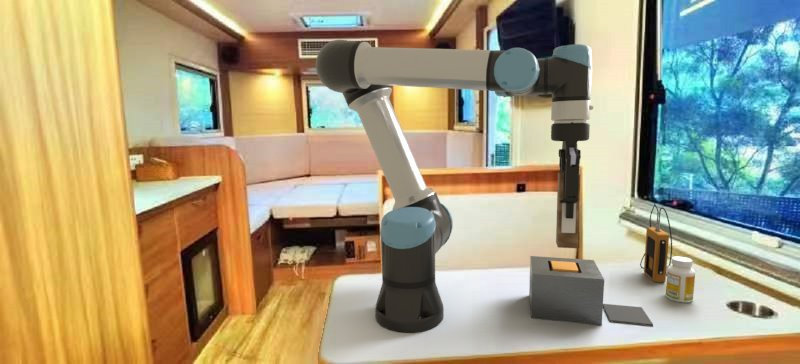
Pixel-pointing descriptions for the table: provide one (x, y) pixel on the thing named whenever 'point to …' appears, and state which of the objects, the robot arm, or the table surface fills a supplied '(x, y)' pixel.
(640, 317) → the rest mat
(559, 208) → the brown rectangular block
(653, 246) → the multimeter
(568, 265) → the button
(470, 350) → the table surface
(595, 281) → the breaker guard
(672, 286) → the supplement bottle
